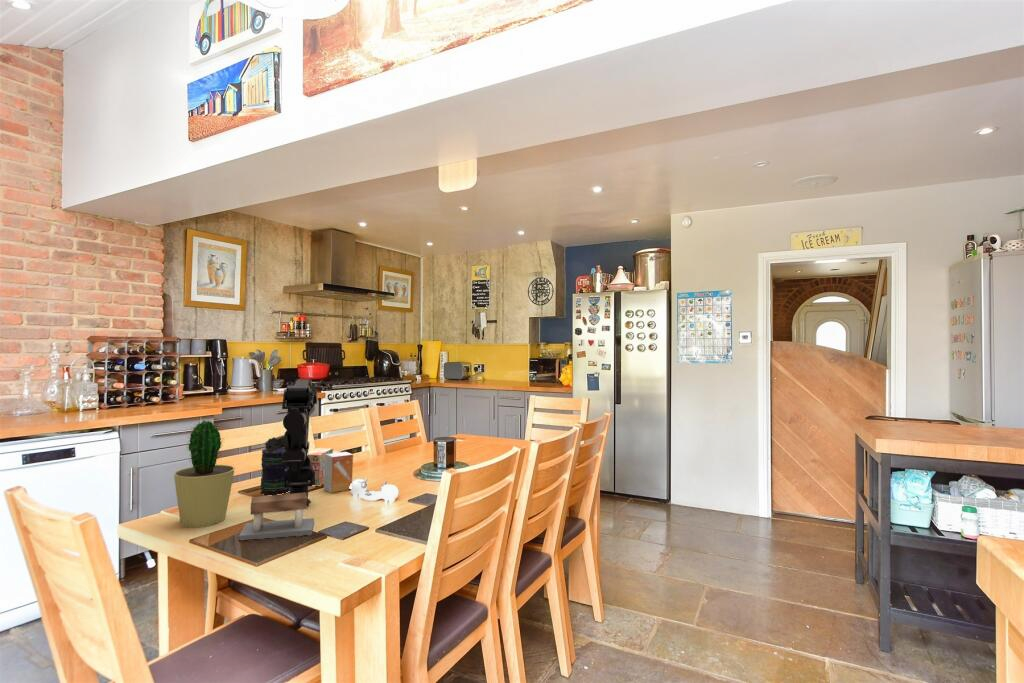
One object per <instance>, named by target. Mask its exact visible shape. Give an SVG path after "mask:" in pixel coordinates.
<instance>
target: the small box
mask: <svg viewBox="0 0 1024 683" xmlns="http://www.w3.org/2000/svg"><path fill="white" fill-rule="evenodd" d="M353 464H354V454H353V453H350V452H348V451H341V452H340V453H332V454H325V473H324V484H323V490H324V491H326V492H327V493H330V494H334V493H340V492H344V490H346V491H349V490H348V489H349V486H350V484H351V483H352V484H353V473H354V472H353V468H354V466H353ZM339 491H340V492H339Z"/></svg>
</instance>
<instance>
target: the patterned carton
mask: <svg viewBox="0 0 1024 683" xmlns="http://www.w3.org/2000/svg"><path fill="white" fill-rule="evenodd" d="M340 452H342V450H334V448H333V447H317V448H314V449H313V450H311V451H308V453H307V456H308V457H309V459H310V461H311V468H313V470H314V472H315V485H320V484H321V483H323V482H324V473H325V454H332V453H340ZM309 481H311V480H309Z"/></svg>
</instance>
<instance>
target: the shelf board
mask: <svg viewBox="0 0 1024 683" xmlns="http://www.w3.org/2000/svg"><path fill="white" fill-rule="evenodd" d="M307 507H308V506H307V495H306V492H304V493H293V494H290V493H287V494H282V495H272V496H265V495H261V496H252V497H251V501H250V515H251V516H252V515H254V514H261V513H263V514H269V513H270V514H271V513H280V512H287V511H288V512H289V511H295V510H300V509H303V510H306V509H307ZM307 510H308V509H307Z"/></svg>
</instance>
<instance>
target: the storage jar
mask: <svg viewBox="0 0 1024 683" xmlns="http://www.w3.org/2000/svg"><path fill="white" fill-rule="evenodd" d="M285 450H286V449H284V447H283V448H280V449H277V450H274V451H273V452H271V453H268V451H267V449H266V448H264V449H262V450H261V458H260V459H261V477H260V490H261V491H260V495H261V494H264V495H263V496H265V495H277V494H282V493H286V492H288V491H290V487H287V488H285V469H287V465H286V464H285V463H283V462H282V461H281V457H282V453H283V452H284V451H285Z"/></svg>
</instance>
